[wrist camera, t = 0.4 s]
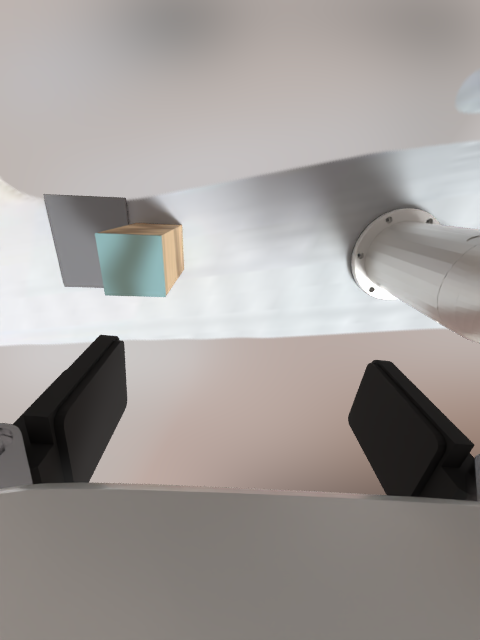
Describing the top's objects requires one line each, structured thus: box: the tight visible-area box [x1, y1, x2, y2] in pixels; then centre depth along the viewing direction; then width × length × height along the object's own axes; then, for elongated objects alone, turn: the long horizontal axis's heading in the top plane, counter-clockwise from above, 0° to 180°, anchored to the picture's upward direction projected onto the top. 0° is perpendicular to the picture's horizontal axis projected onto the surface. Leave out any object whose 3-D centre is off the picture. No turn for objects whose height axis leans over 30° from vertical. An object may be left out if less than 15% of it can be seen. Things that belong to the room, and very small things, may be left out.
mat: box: [44, 194, 129, 288], centre depth 37 cm, size 10×12×1 cm
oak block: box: [95, 223, 184, 297], centre depth 32 cm, size 6×6×12 cm
